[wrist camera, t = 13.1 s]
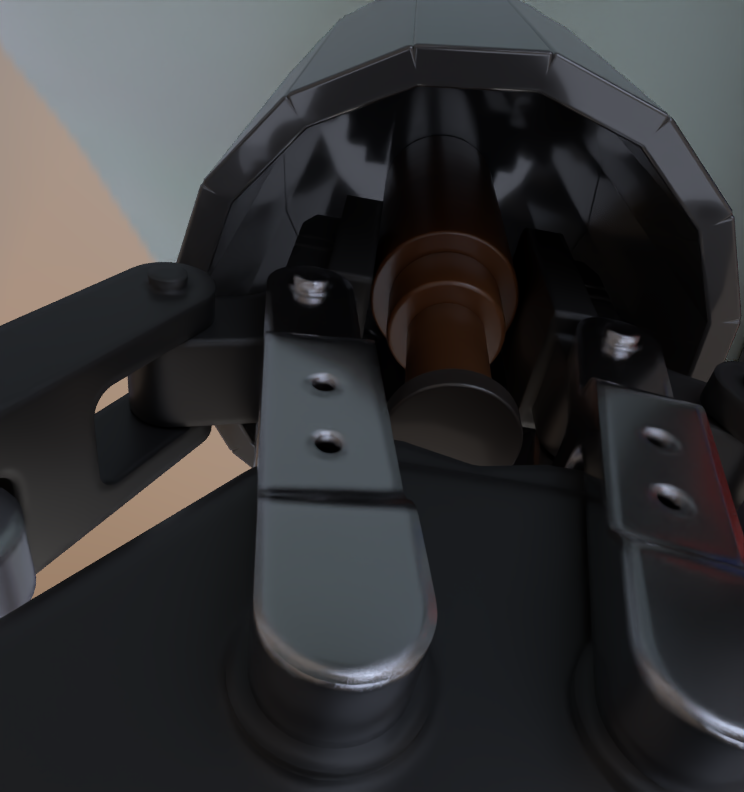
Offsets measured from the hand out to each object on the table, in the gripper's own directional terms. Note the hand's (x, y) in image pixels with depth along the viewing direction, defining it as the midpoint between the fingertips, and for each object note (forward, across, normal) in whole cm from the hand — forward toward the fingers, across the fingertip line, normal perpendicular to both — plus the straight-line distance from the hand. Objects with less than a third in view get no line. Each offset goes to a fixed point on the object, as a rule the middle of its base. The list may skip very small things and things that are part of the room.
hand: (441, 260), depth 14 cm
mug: (+5, 0, +2) cm, 5 cm away
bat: (+4, 0, 0) cm, 4 cm away
